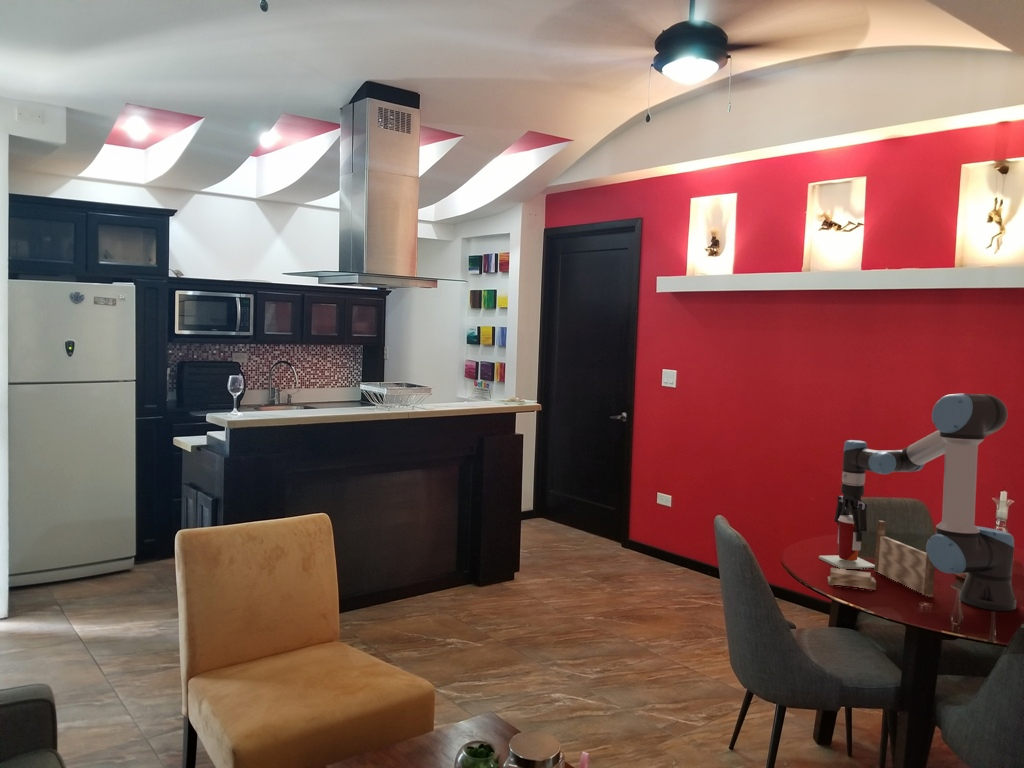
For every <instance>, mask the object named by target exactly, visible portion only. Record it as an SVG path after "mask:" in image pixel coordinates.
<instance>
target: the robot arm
mask: <svg viewBox="0 0 1024 768" xmlns="http://www.w3.org/2000/svg"><path fill="white" fill-rule="evenodd" d="M1008 415H1009V413H1008V408H1007V406H1006V404H1005V403H1004V401H1002V399H1000V398H998V397H997V396H995V395H993V394H990V393H989V394H987V393H981V394H980V393H979V394H978V393H976V394H975V393H952V394H951V393H950V394H947V395H944V396H942V397H940V399H938V401H936V402H935V404H934V405H933V408H932V411H931V421H932V424H933V425H934V427H935V429H937V430H936V431H934V432H932V433H930V434H927V436H925V437H923V438H921V439H919V440H917V441H916V442H914V443H912V444H910V445H908V446H906V447H905V448H902V449H892V450H891V449H890V450H885V449H884V450H877V449H871V448H868V443H867V442H866V441H863V440H858V439H857V440H856V439H855V440H854V439H849V440H848V439H847V440H845V441H844V445H843V451H842V453H843V454H842V456H843V457H842V474H841V482H842V483H841V485H840V486H841V487H840V493H841V494H842V495H838V496H837V499H836V500H837V503H836V510H835V515H834V522H835V523H837V524H836V525H837V534H838V535H837V544H838V545H839V520H838V519H839V516H840V515H850V513H851V515H852V516H853V521H854V527H855V531H854V532H853V548H852V550H858V551H861V548H862V540H863V539H862V538H863V533H866V532H868V527H867V526H868V522H867V507H868V504H867V503H863V502H862V497H863V496H864V495H865V485H864V484H865V483H866V471H867V472H871V473H875V474H878V475H889V474H891V473H913V472H919V471H921V470H922V469H923V467H925V465H926V463H929V462H930V461H933V460H934V459H936V458H938V457H940V456H943V455H944V464H943V465H944V469H943V488H942V489H943V490H942V491H943V493H942V514H941V515H942V516H941V521H940V522H939V523H938V524H936V526H935V534H933V535H931V536H930V537H929V538H928V539H929V540H928V539H927V542H926V548H925V549H926V553H927V555H928V557H929V560H930V561H931V562H932V563H933V565H934V566H935V569H937V570H938V571H940V572H941V573H945V574H955V575H959V574H964V573H965V574H966V573H967V575H966V577H965V579H964V582H963V585H962V587H961V588H960V589H959V593H958V595H959V597H958V599H959V600H960V601H961V602H963V603H965V604H967V605H969V606H972V607H975V608H979V609H985V610H988V611H989V610H990V611H997V612H1011V611H1015V610H1016V609H1017V599H1016V597H1015V592H1014V588H1013V585H1012V575H1013V563H1014V552H1015V538H1014V536H1013V535H1012V534H1011V533H1009V532H1005V531H1003V530H998V529H995V528H989V527H984V526H978V525H976V524H975V521H976V519H975V518H976V517H975V516H976V497H977V495H976V494H977V476H978V473H977V471H978V451H979V445H980V444H981V443H982V442H984V441H985V438H986V437H988V436H990V435H992V434H994V433H996V432H998V431H999V430H1001V429H1002V428H1003V427H1004V426H1005V424H1006V422H1007V419H1008V417H1009V416H1008ZM858 528H859V529H858Z"/></svg>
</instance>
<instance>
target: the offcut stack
mask: <svg viewBox="0 0 1024 768" xmlns="http://www.w3.org/2000/svg"><path fill="white" fill-rule="evenodd" d="M829 574H830V575H829V576H827V583H828V586H833V585H842V586H853V587H859V588H866V589H873V590H876V589H877V581H876V579H875V577H873V576H872V575H871V572H868V571H867V572H866V571H861V570H859V571H858V570H846V569H839V568H837V567H830V573H829Z"/></svg>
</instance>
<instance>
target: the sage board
mask: <svg viewBox="0 0 1024 768" xmlns="http://www.w3.org/2000/svg"><path fill="white" fill-rule="evenodd" d="M818 559H819V560H821V561H823V562H825V563H826V564H829V565H832V566H833V567H835V566H836V567H835V568H837V567H838V569H839V568H840V569H860V570H869V569H868V568H875V563H871V562H870V561H867V560H865V559H864V558H863V559H862V558H860V557H859V556H858V557H857V560H856V561H848V560H843V559H840V558H839V554H838V555H835V554H833V555H819V556H818ZM863 568H864V569H863ZM865 568H867V569H865Z"/></svg>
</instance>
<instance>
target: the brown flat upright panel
mask: <svg viewBox="0 0 1024 768" xmlns="http://www.w3.org/2000/svg"><path fill="white" fill-rule="evenodd" d="M886 524H887V523H886V521H884V520H877V526H876V528H877V529H876V541H875V542H876V543H875V556H874V565H875V568H874V569H873V572H874V571H876V572H878V573H880V574H882V575H884V576H886V577H885V578H887V577H888V578H887V579H889V578H890V579H889V580H891V579H892V580H891V581H893V580H894V581H893V582H895V581H896V582H895V583H897V582H899V583H901V584H903V585H902V586H904V585H905V586H904V587H906V586H907V587H906V588H908V587H909V588H908V589H910V588H911V589H910V590H912V589H913V590H912V591H914V590H915V591H914V592H916V591H917V592H916V593H918V592H919V594H920V593H922V594H921V595H923V596H924V595H925V596H924V597H927V596H928V597H927V598H933V597H934V582H935V571H936V567H935V566H934V565H933V563H932V562H931V561H930V560H929V557H928V555H927V551H926V552H925V551H923V550H920V549H918V548H915V547H912V546H911V545H908V544H906V543H903V542H900V541H898V540H896V539H893V538H890V537H888V536H886V526H887V525H886ZM929 539H930V538H928V539H927V541H928V540H929ZM876 572H875V573H876ZM878 573H877V574H878ZM880 574H879V575H880ZM882 575H881V576H882ZM884 576H883V577H884ZM899 583H898V584H899ZM901 584H900V585H901Z"/></svg>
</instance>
